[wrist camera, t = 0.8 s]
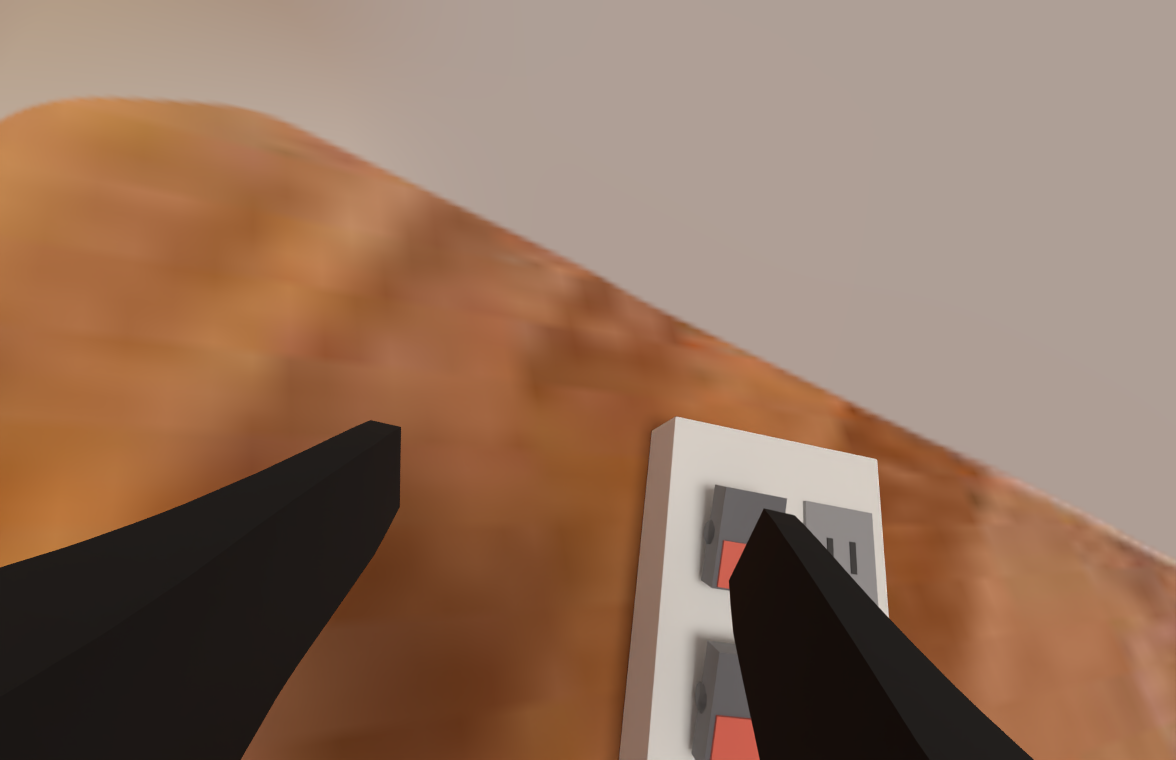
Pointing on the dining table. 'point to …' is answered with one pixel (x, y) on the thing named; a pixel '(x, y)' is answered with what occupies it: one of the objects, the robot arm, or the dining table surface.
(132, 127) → the dining table surface
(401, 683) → the dining table surface
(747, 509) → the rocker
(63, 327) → the dining table surface
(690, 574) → the power strip
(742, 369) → the dining table surface
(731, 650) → the rocker middle
